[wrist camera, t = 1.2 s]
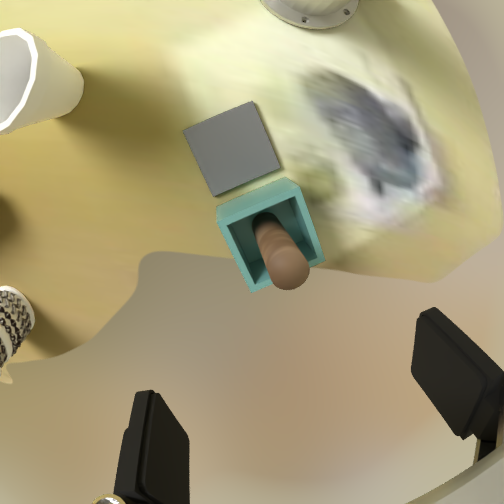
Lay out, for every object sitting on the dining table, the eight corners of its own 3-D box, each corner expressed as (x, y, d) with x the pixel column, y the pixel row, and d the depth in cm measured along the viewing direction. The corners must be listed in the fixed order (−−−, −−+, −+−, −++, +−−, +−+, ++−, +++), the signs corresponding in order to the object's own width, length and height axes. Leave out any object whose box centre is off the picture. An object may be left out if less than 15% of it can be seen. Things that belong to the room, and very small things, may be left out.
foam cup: (105, 56, 25) (53, 24, 13) (85, 132, 29) (23, 138, 17) (42, 55, 23) (-22, 35, 12) (24, 126, 27) (-45, 133, 15)
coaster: (251, 101, 30) (252, 100, 29) (279, 167, 33) (280, 167, 32) (183, 130, 30) (182, 130, 30) (213, 195, 33) (213, 196, 33)
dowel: (273, 207, 34) (302, 246, 23) (283, 232, 35) (314, 279, 24) (247, 218, 34) (263, 263, 23) (258, 243, 35) (278, 295, 24)
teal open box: (285, 176, 33) (299, 186, 28) (309, 240, 37) (325, 260, 31) (216, 206, 34) (216, 221, 28) (245, 268, 37) (251, 292, 32)
